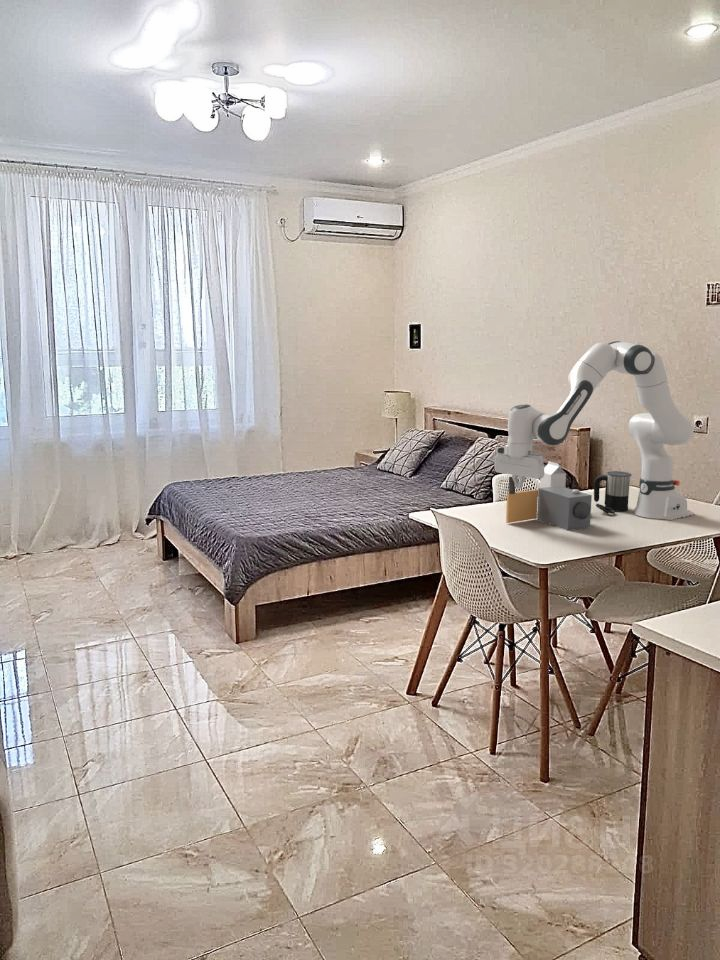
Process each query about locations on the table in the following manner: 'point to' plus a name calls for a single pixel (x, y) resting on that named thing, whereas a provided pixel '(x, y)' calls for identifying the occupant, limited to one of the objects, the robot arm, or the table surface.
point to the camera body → (564, 507)
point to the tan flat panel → (521, 504)
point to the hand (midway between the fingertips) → (518, 487)
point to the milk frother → (613, 491)
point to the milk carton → (553, 476)
